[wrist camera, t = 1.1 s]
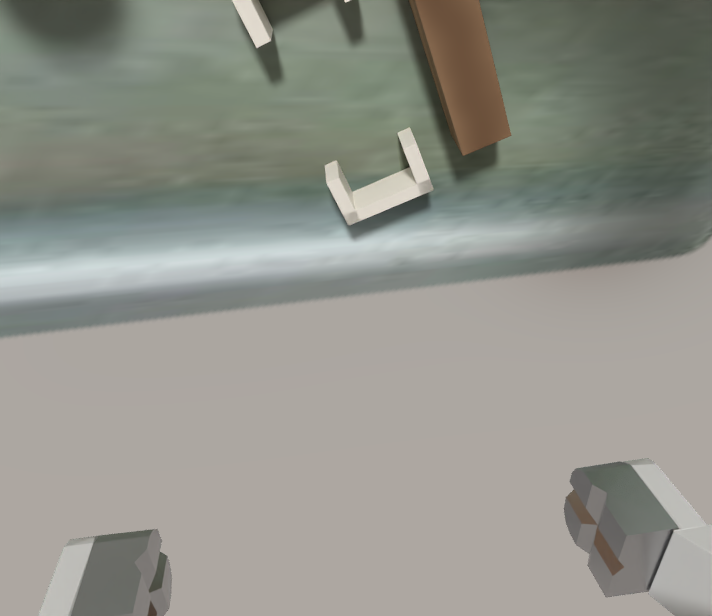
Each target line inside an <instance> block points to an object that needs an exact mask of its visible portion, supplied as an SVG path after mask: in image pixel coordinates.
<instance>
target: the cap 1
mask: <svg viewBox="0 0 712 616" xmlns="http://www.w3.org/2000/svg"><path fill="white" fill-rule="evenodd" d="M232 1H233V3H234V5H235V7H236V9H237V11H238V13H239V15H240V17H241V19H242V21H243V23H244V25H245V27H246V28H247V30H248V32H249V34H250V36H251V38H252V40H253V42H254V44H255V46H256V48H258V47H260V46H262V45H264V44H266V43H268V42H270V41H271V38H272V32H273V28H272V26H271V24H270V22H269V20H268V18H267V16H266V14H265V12H264V10H263V8H262V6H261V4H260V2H259V0H232ZM344 1H345V3H346V2H348V1H350V0H344Z"/></svg>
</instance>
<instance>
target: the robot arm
mask: <svg viewBox="0 0 712 616" xmlns="http://www.w3.org/2000/svg"><path fill="white" fill-rule="evenodd" d="M570 483H571V485H572V486H573V488H574V490H573V491H572V492H571V493H570V494H569V495H568V496H567V497H566V500H565V506H564V513H565V520H566V524H567V527H568V529H569V532H570V534H571V536H572V538H573V540H574V542H575V544H576V545H577V546H579V547H580V548H582V549H583V550H584V551H586V552H588V553H589V560H588V567H589V569H590V570H591V572H592V574H593V576H594V577H595V579H596V581H597V582H598V584H599V586H600V588H601V589H602V591H603V593H604V595H605V597H612V596H619V595H625V594H634V593H640V592H648V591H649V593H648V594H649V595H650V596H651V597H652V598H654V599H655V600H656V601H658V602H659V603H660V604H661V605H662V606H664V607H665V608H666V609H667V610H668V611H670V612H671V613H672V614H673V615H675V616H712V524H709V525H707V524H706V523H705V522H704V521H703V519H702V518H701V517H700V516H699V514H698V513H697V512H696V511H695V510H694V508H693V507H692V506H691V505H690V504H689V503H688V501H687V500H686V499H685V498H684V497H683V495H682V494H681V493H680V492H679V491H678V489H677V488H676V487H675V486H674V485H673V483H672V482H671V481H670V480H669V479H668V477H667V476H666V475H665V474H664V473H663V472H662V470H661V469H660V468H659V467H658V466H657V464H656V463H655V462H654V461H652V460H650V459H649V458H646V459H639V460H632V461H625V462H614V463H608V464H602V465H595V466H590V467H583V468H577V469H575V470H574V471H573V472H572V475H571V479H570ZM161 542H162V540H161V537H160V535H159V532H158V530H157V529H153V530H145V531H136V532H127V533H118V534H109V535H102V536H93V537H86V538H79V539H71V540H69V542H68V543H67V545H66V546H65V547H64V548H63V550H62V553H61V556H60V558H59V561H58V564H57V566H56V569H55V572H54V575H53V577H52V580H51V582H50V585H49V588H48V590H47V593H46V596H45V598H44V601H43V604H42V606H41V609H40V612H39V614H38V616H164V615H165V613H166V612H167V611H168V609H169V606H170V599H171V583H172V575H171V568H170V563H169V560H168V557H167V556H166V555H165V554H163V553H161V552H160V548H161Z"/></svg>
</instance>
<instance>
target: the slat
mask: <svg viewBox="0 0 712 616" xmlns="http://www.w3.org/2000/svg"><path fill="white" fill-rule="evenodd" d="M409 2H410V6H411V9H412V12H413V15H414V18H415V22H416V25H417V28H418V31H419V34H420V37H421V41H422V44H423V47H424V50H425V53H426V56H427V60H428V63H429V66H430V69H431V72H432V75H433V79H434V82H435V85H436V88H437V91H438V94H439V98H440V101H441V104H442V107H443V110H444V114H445V117H446V120H447V123H448V126H449V129H450V133H451V136H452V137H453V139H454V141H455V143H456V144H457V146H458V148H459V150H460V152H461V153H462V155H463V156H464V155H466V154H469V153H471V152H474V151H476V150H478V149H481V148H483V147H485V146H488V145H490V144H493V143H495V142H497V141H500V140H502V139H505V138H507V137H509V136H511V133H510V128H509V124H508V120H507V116H506V112H505V107H504V103H503V99H502V95H501V91H500V87H499V82H498V78H497V74H496V70H495V66H494V61H493V57H492V53H491V49H490V45H489V41H488V36H487V32H486V28H485V24H484V20H483V15H482V11H481V7H480V3H479V0H409Z"/></svg>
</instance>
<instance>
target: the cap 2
mask: <svg viewBox="0 0 712 616" xmlns="http://www.w3.org/2000/svg"><path fill="white" fill-rule="evenodd" d="M397 134H398V136H399V139H400V142H401V145H402V147H403V150H404V153H405V155H406V158H407V160H408V163H409V165H410V167H409V168H407V169H404V170H402V171H400V172H397V173H395V174H393V175H390V176H388V177H386V178H384V179H381V180H379V181H377V182H374V183H372V184H370V185H367V186H365V187H363V188H360V189H358V190H356V191H354V192H352V190H351V188H350V186H349V184H348V182H347V180H346V178H345V176H344V174H343V172H342V170H341V168H340V166H339V164H338V162H337V160H336V161H333V162H331V163H329V164H327V165H325V172H326V183H327V185H328V187H329V189H330V191H331V193H332V195H333V197H334V199H335V200H336V202H337V204H338V206H339V208H340V210H341V212H342V214H343V216H344V218H345V220H346V222H347V224H348V226H349V225H352V224H354V223H356V222H359V221H361V220H364V219H366V218H368V217H371V216H373V215H375V214H378V213H380V212H383V211H385V210H387V209H390V208H392V207H394V206H397V205H399V204H402V203H404V202H406V201H409V200H411V199H413V198H416V197H418V196H421V195H423V194H425V193H428V192H430V191H432V190H434V189H433V186H432V184H431V181H430V178H429V176H428V173H427V170H426V168H425V165H424V162H423V160H422V157H421V154H420V152H419V149H418V146H417V144H416V141H415V139H414V136H413V134H412V132H411V129H410V127H409V128H407V129H405V130H402V131H400V132H398V133H397Z"/></svg>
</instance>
